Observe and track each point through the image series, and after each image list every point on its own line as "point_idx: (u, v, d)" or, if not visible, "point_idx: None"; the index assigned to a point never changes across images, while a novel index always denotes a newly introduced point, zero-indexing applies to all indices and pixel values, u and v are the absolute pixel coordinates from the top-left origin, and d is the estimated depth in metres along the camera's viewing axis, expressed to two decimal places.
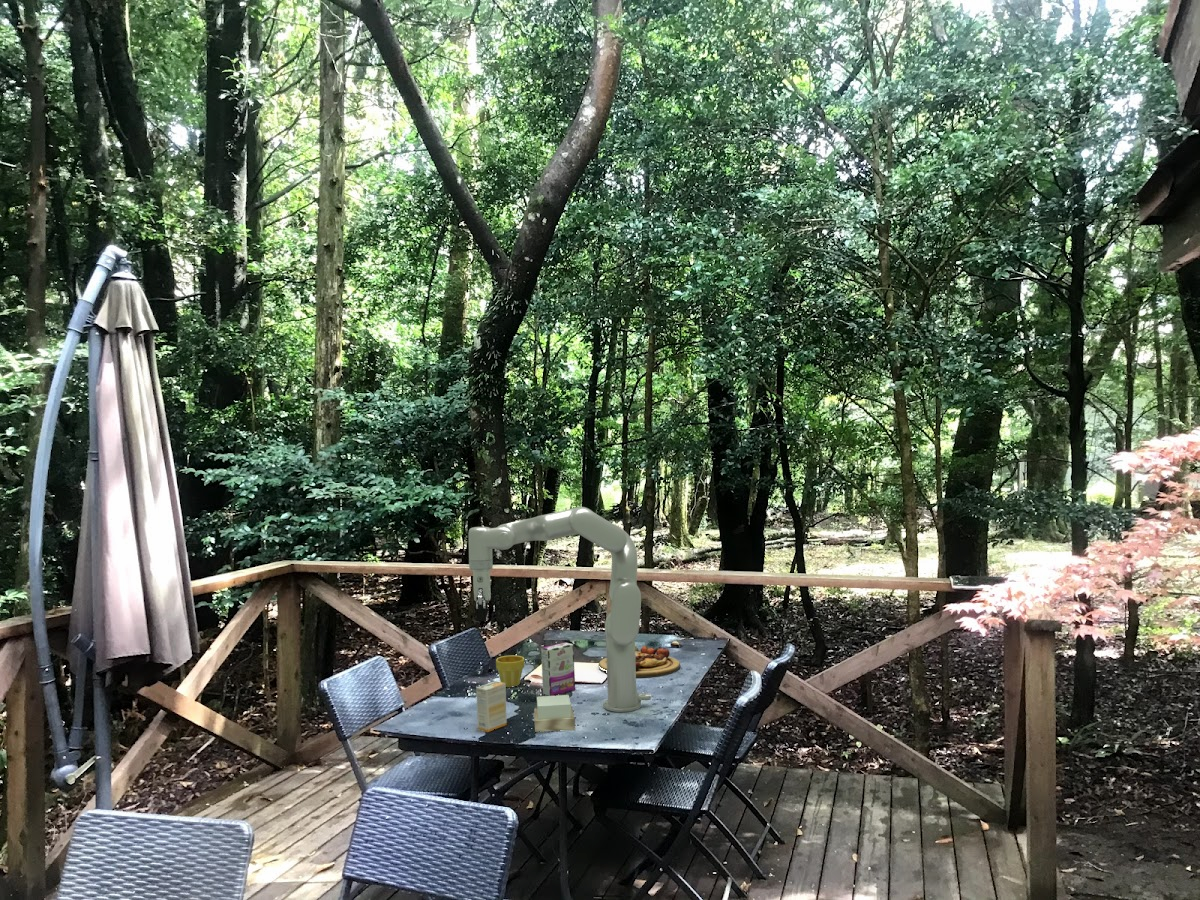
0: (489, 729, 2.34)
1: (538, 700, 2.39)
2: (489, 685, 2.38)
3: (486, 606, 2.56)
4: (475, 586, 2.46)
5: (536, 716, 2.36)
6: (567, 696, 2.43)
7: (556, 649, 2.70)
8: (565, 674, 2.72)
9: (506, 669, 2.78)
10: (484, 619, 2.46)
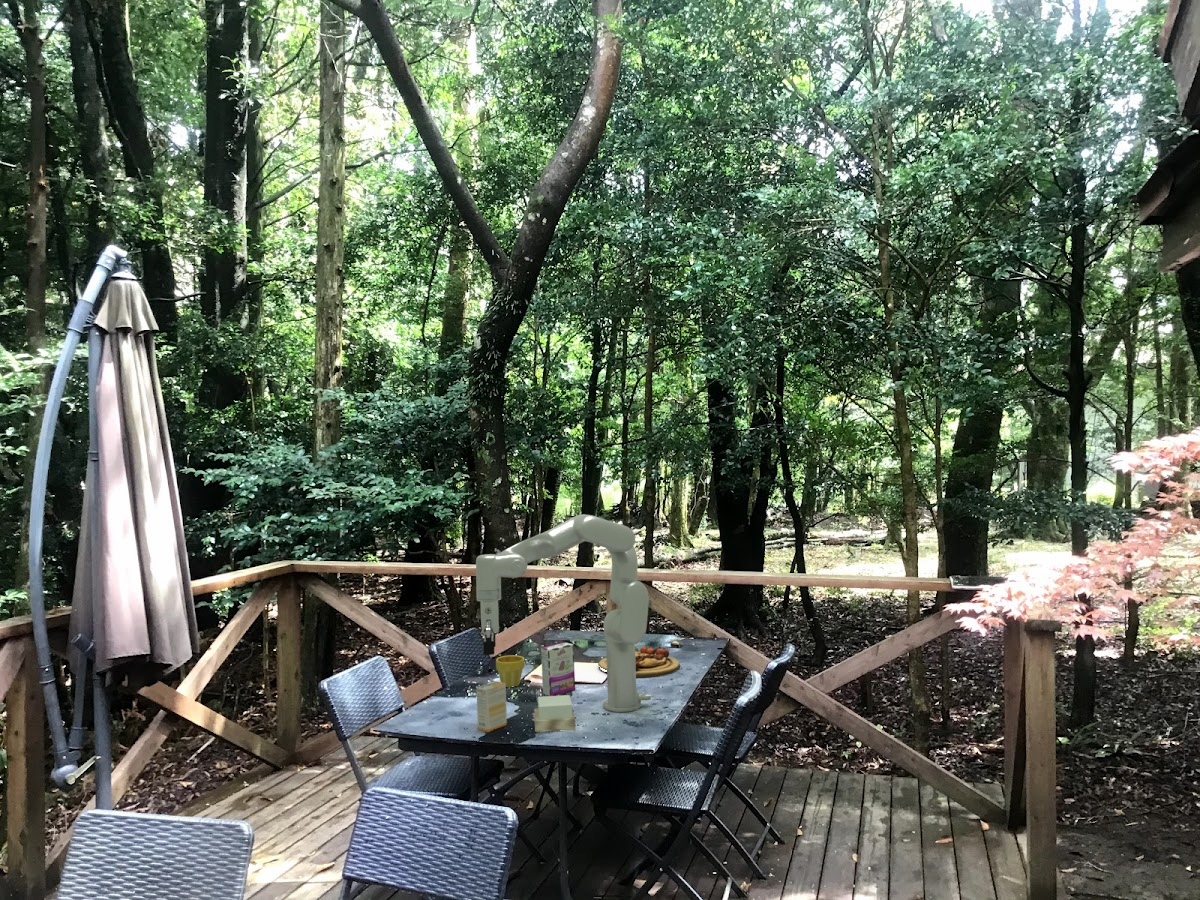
0: (489, 729, 2.34)
1: (539, 700, 2.39)
2: (489, 685, 2.38)
3: (494, 637, 2.43)
4: (483, 617, 2.34)
5: (536, 716, 2.36)
6: (568, 696, 2.43)
7: (556, 649, 2.70)
8: (565, 674, 2.72)
9: (506, 669, 2.78)
10: (492, 652, 2.33)
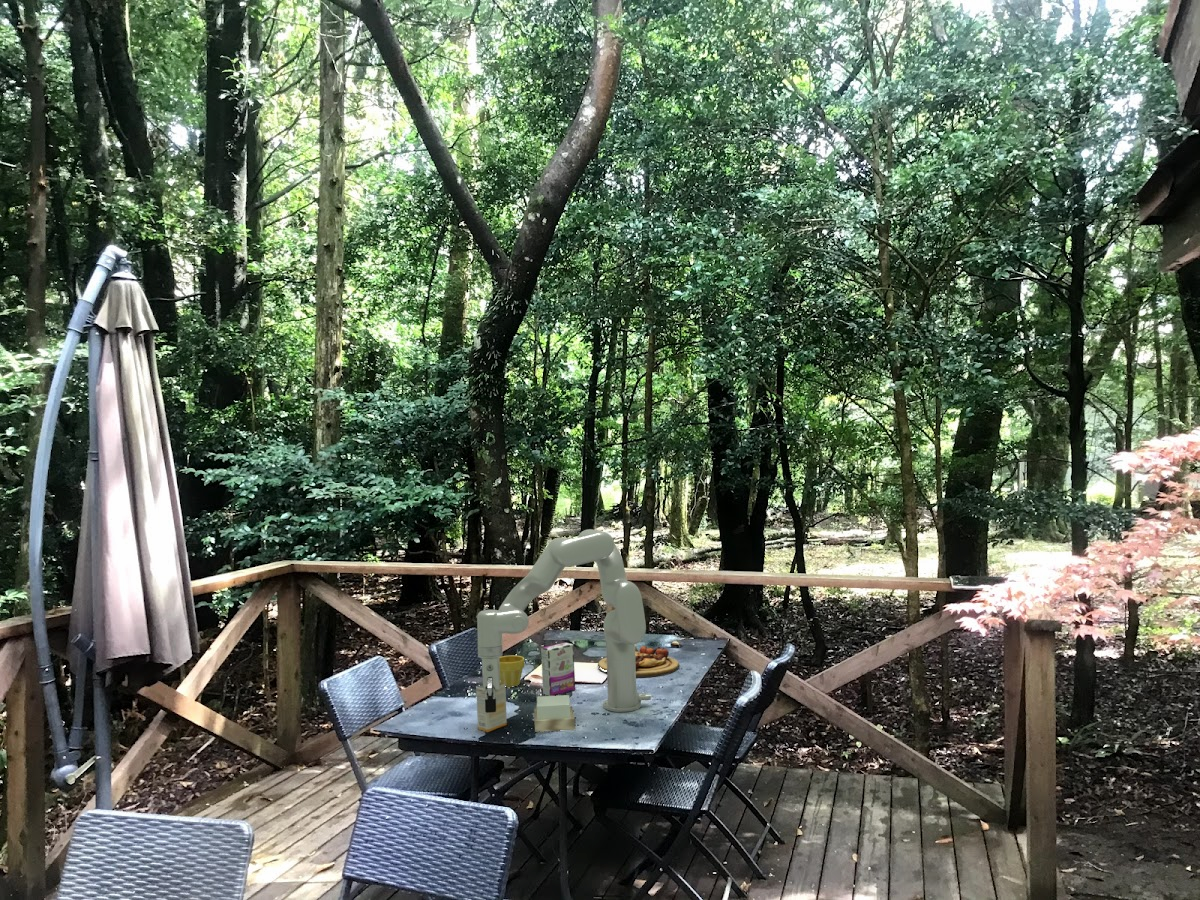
0: (489, 729, 2.34)
1: (538, 700, 2.40)
2: None
3: None
4: (484, 675, 2.33)
5: (536, 716, 2.37)
6: (567, 696, 2.42)
7: (556, 649, 2.70)
8: (565, 674, 2.72)
9: (506, 669, 2.78)
10: (494, 710, 2.33)
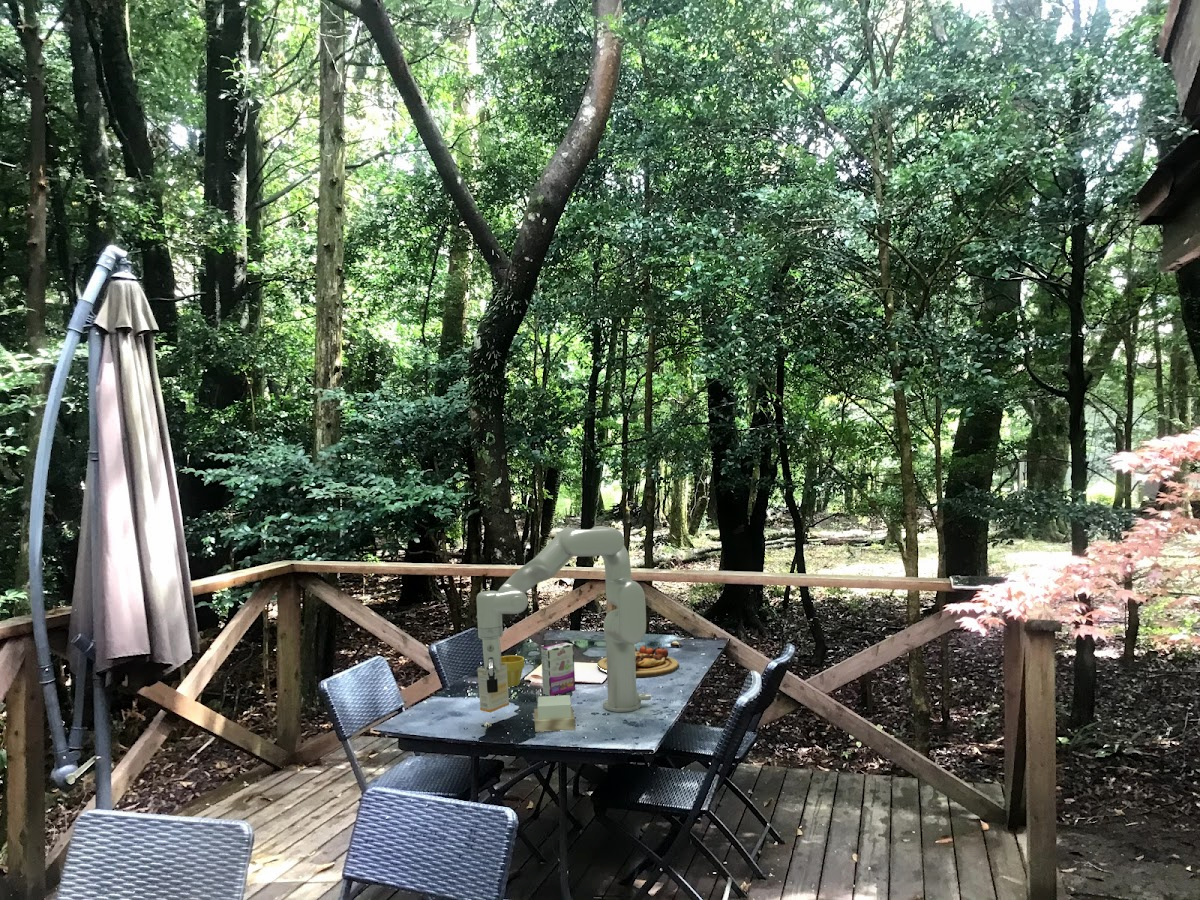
0: (491, 709, 2.35)
1: (539, 700, 2.40)
2: None
3: None
4: (485, 655, 2.34)
5: (536, 716, 2.37)
6: (568, 696, 2.43)
7: (556, 649, 2.70)
8: (565, 674, 2.72)
9: None
10: (496, 690, 2.34)
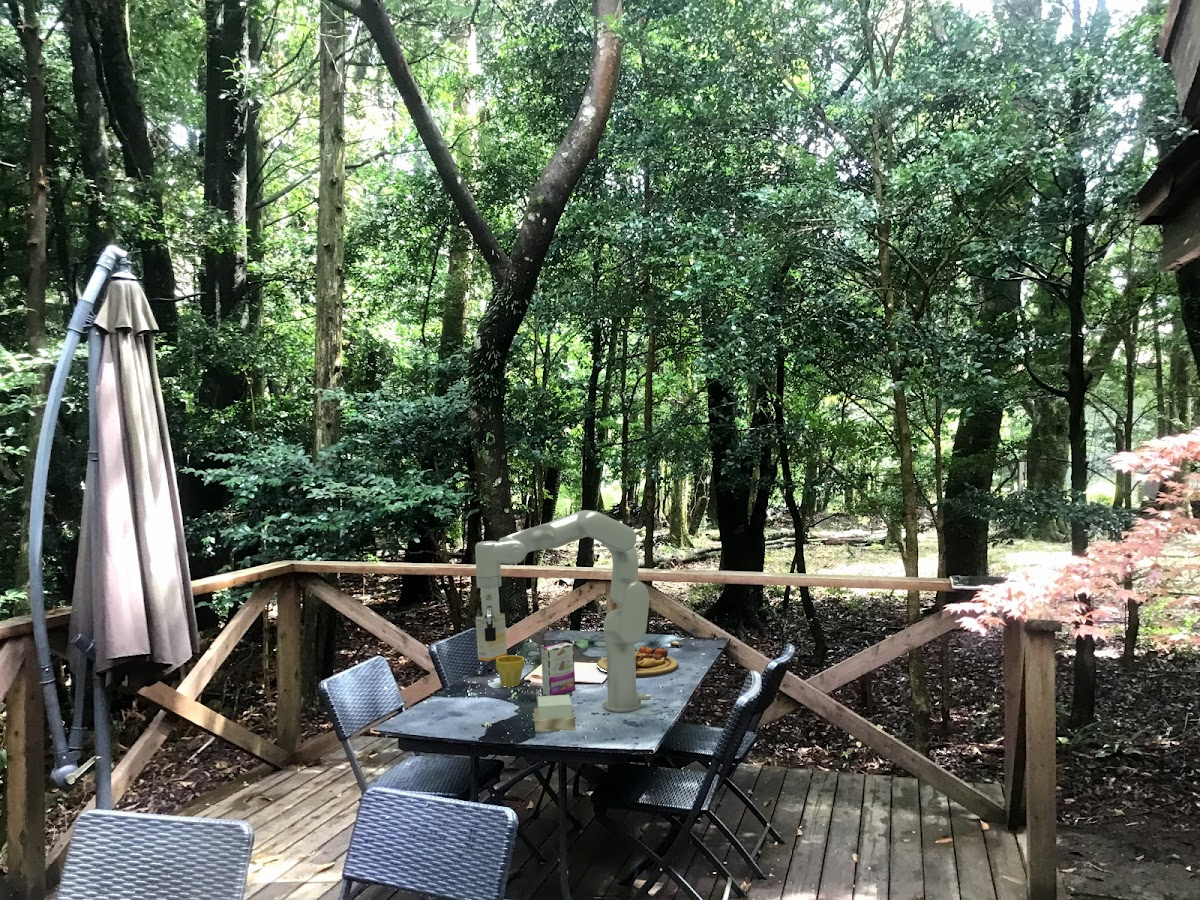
0: (489, 658, 2.35)
1: (539, 700, 2.39)
2: None
3: None
4: (483, 604, 2.34)
5: (536, 716, 2.37)
6: (568, 696, 2.43)
7: (556, 649, 2.70)
8: (565, 674, 2.72)
9: (506, 669, 2.78)
10: (494, 639, 2.34)
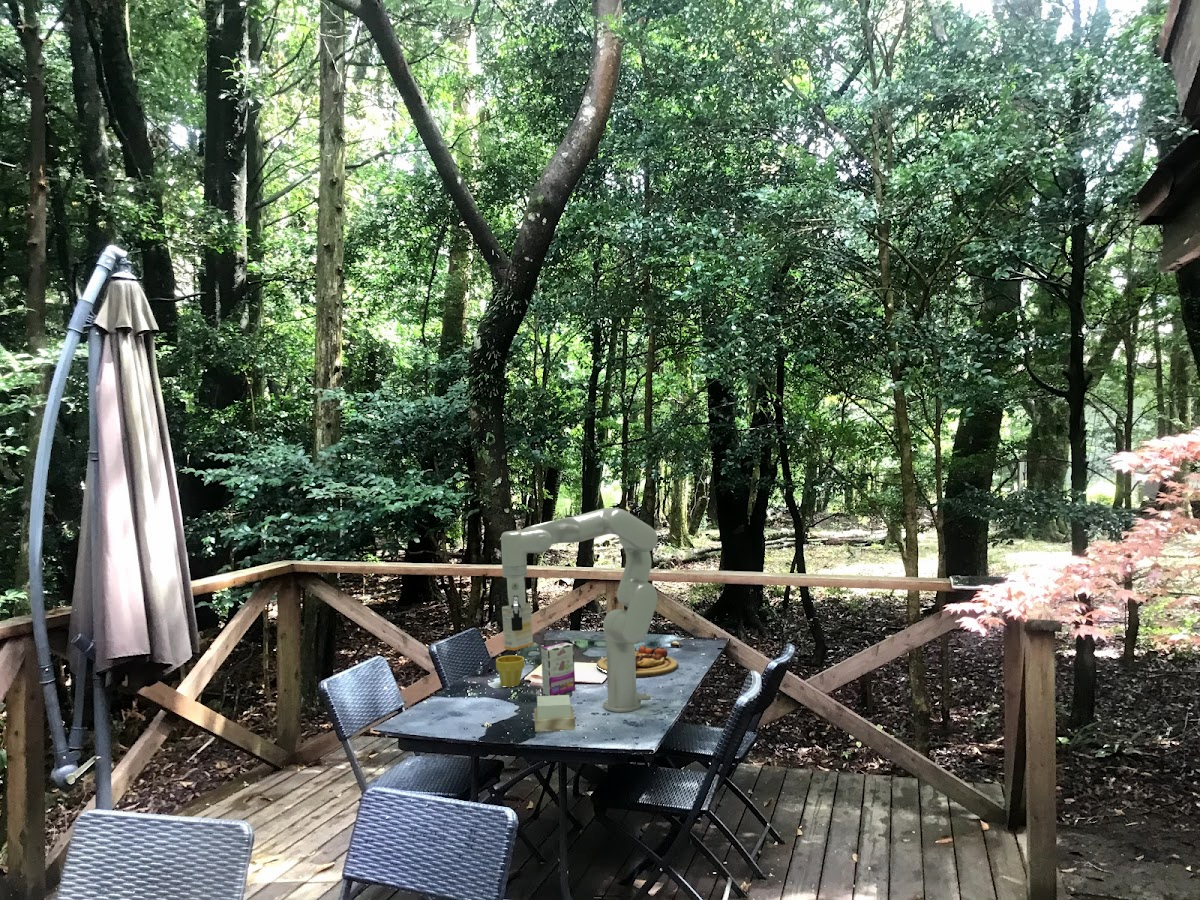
0: (516, 647, 2.35)
1: (538, 700, 2.40)
2: None
3: None
4: (510, 594, 2.34)
5: (536, 716, 2.37)
6: (567, 696, 2.43)
7: (556, 649, 2.70)
8: (565, 674, 2.72)
9: (506, 669, 2.78)
10: (520, 628, 2.34)
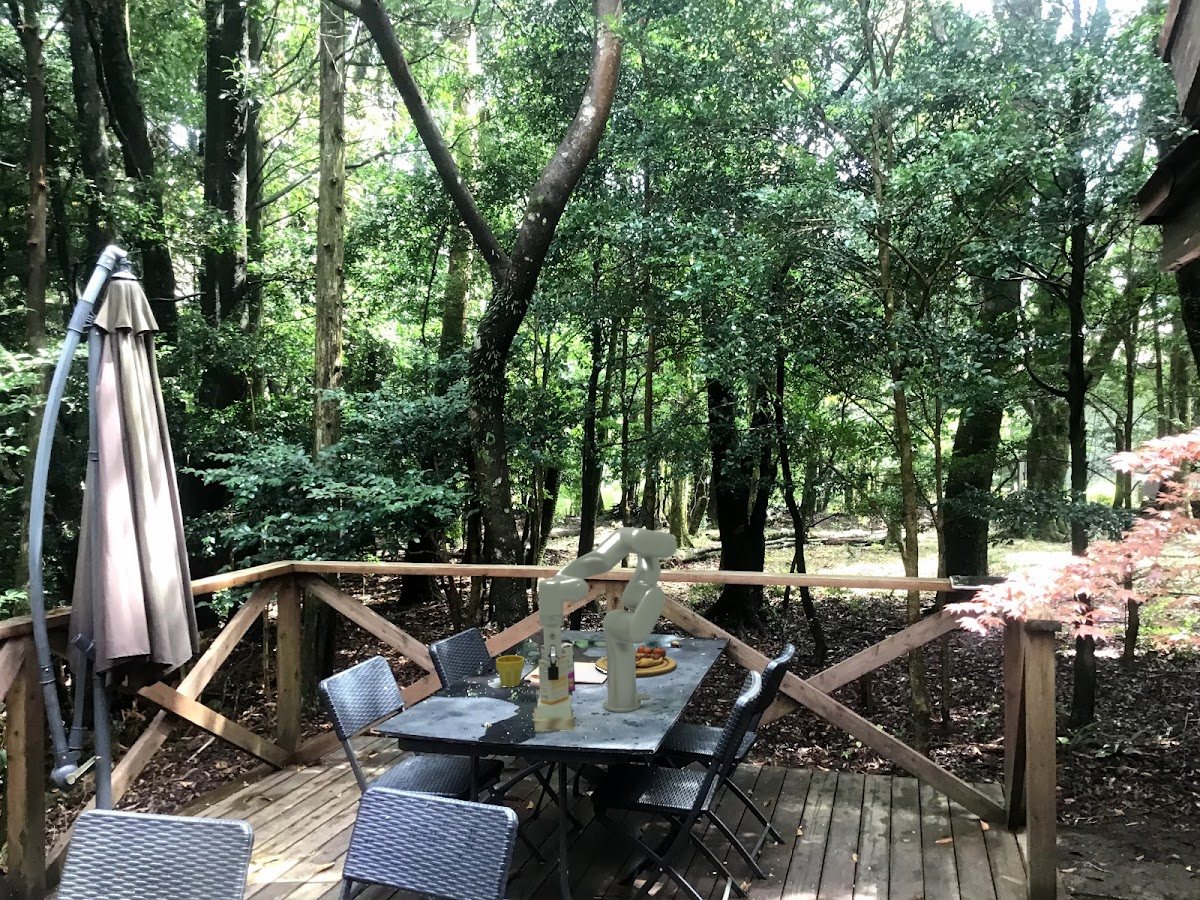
0: (552, 701, 2.35)
1: (539, 699, 2.40)
2: None
3: None
4: (547, 643, 2.35)
5: (536, 716, 2.37)
6: (569, 696, 2.43)
7: None
8: None
9: (506, 669, 2.78)
10: (556, 678, 2.34)
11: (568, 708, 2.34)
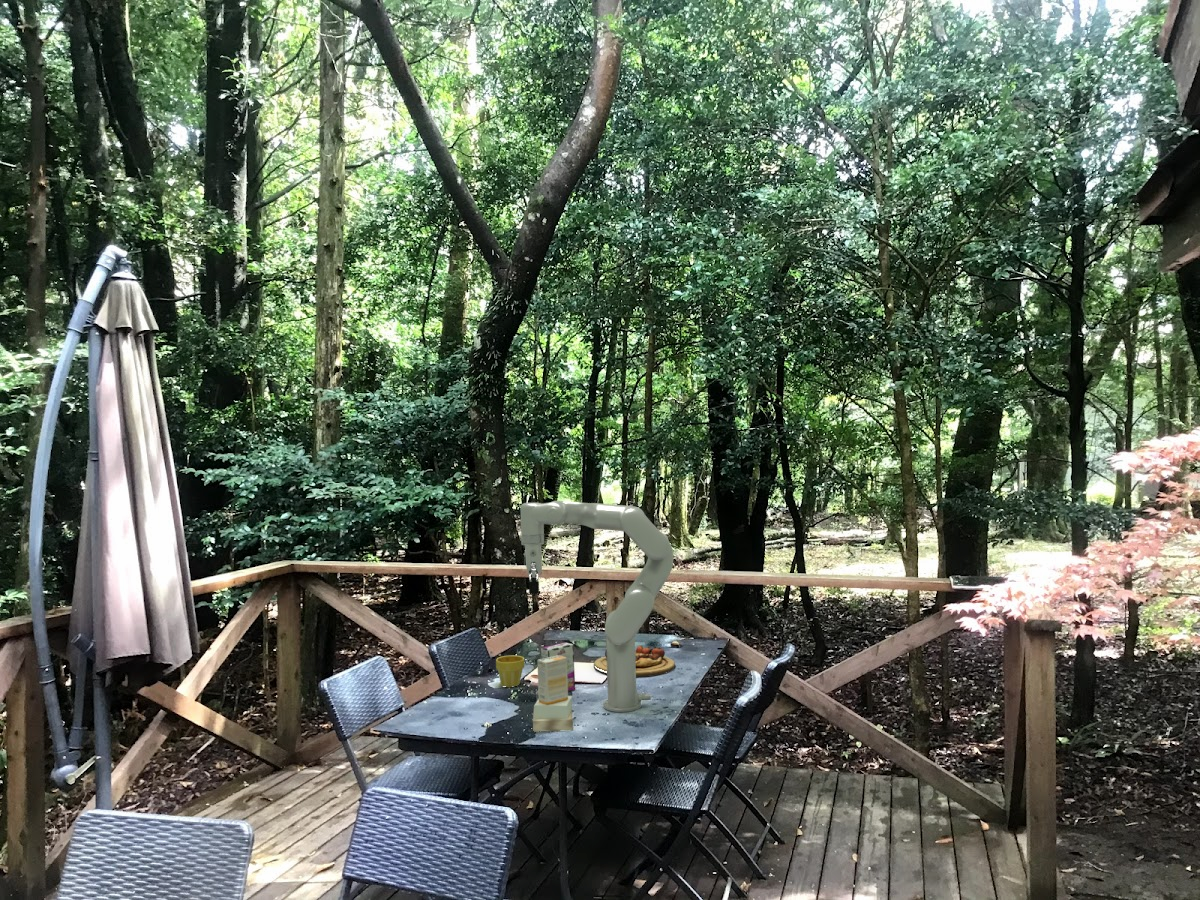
0: (548, 702, 2.35)
1: None
2: (550, 658, 2.39)
3: None
4: (528, 560, 2.52)
5: None
6: (569, 697, 2.42)
7: (556, 649, 2.70)
8: None
9: (506, 669, 2.78)
10: (537, 592, 2.52)
11: (564, 709, 2.34)
